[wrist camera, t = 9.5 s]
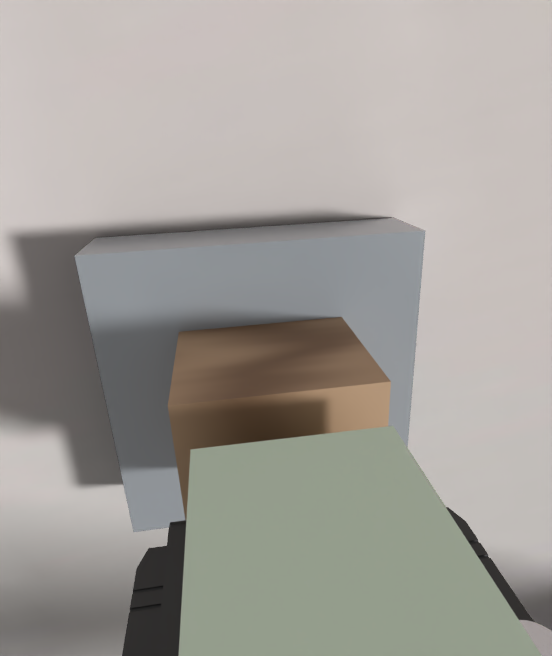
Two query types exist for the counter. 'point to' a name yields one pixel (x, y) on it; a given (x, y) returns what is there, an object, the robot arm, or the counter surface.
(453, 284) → the counter surface
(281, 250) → the slate trivet
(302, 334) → the walnut block
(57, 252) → the counter surface
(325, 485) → the sage block
